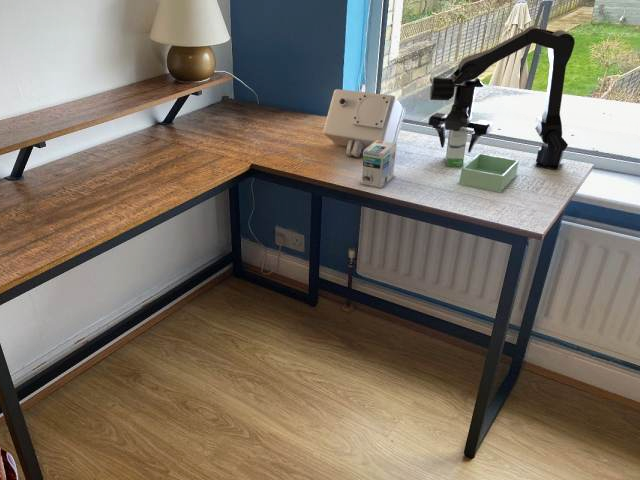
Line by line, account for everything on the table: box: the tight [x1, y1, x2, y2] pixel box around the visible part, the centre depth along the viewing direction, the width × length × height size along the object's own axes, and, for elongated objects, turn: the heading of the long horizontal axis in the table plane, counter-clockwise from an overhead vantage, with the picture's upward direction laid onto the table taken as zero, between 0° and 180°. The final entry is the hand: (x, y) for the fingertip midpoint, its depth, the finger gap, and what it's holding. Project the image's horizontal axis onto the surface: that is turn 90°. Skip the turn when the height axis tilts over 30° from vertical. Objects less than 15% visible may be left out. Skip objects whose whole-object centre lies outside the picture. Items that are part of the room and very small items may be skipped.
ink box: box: [445, 127, 469, 168], centre depth 192 cm, size 9×5×12 cm, turn 169°
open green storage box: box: [458, 152, 520, 193], centre depth 180 cm, size 12×15×5 cm
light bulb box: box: [361, 140, 397, 189], centre depth 181 cm, size 11×7×11 cm, turn 148°
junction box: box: [322, 88, 406, 158], centre depth 202 cm, size 24×15×22 cm
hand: (455, 149), depth 193 cm, fingers closed on ink box, 8 cm apart
